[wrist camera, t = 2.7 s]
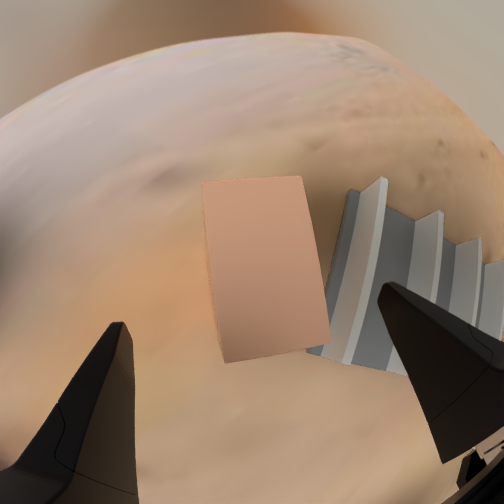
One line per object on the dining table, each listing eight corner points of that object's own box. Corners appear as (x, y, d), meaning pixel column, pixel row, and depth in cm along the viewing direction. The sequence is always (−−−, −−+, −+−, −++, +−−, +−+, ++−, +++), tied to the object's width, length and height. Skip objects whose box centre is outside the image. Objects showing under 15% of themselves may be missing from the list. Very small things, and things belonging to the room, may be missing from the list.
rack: (468, 382, 18) (494, 386, 15) (306, 352, 17) (328, 360, 13) (487, 269, 21) (511, 263, 18) (347, 191, 20) (371, 170, 16)
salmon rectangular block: (263, 325, 17) (331, 342, 7) (215, 332, 16) (224, 363, 7) (252, 247, 18) (301, 175, 8) (205, 252, 17) (201, 181, 8)
